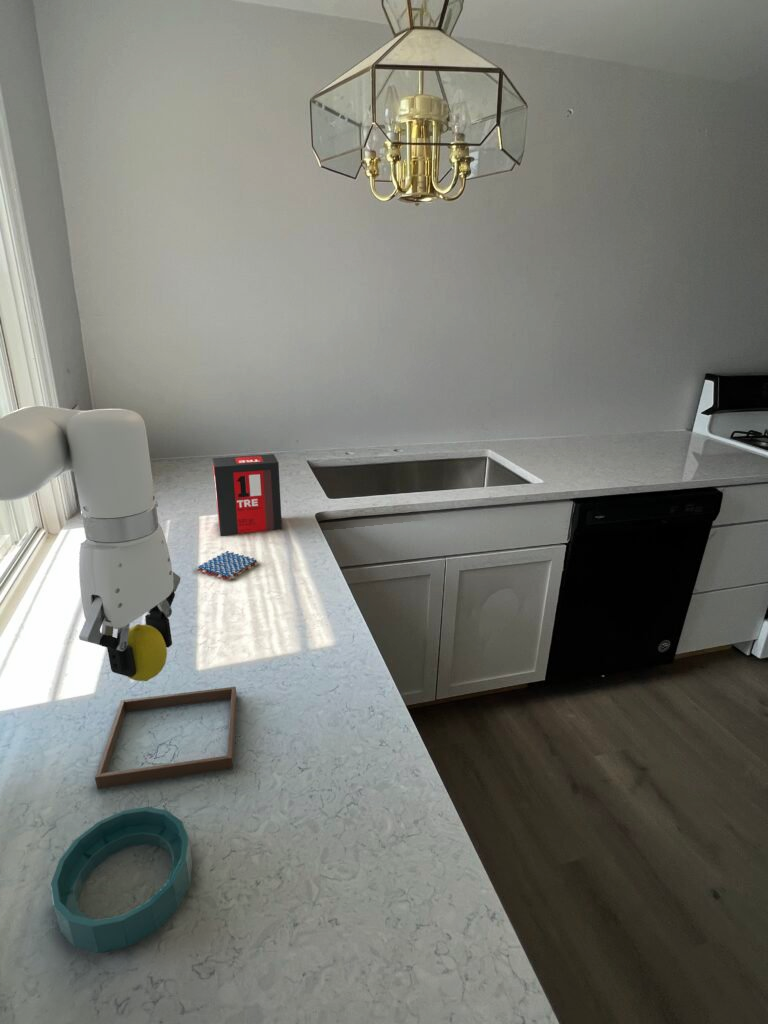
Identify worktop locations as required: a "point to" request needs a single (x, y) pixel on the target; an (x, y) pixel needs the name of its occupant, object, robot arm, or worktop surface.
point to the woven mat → (227, 565)
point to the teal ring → (96, 848)
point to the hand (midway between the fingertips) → (142, 657)
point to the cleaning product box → (247, 494)
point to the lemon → (147, 651)
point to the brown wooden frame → (172, 769)
